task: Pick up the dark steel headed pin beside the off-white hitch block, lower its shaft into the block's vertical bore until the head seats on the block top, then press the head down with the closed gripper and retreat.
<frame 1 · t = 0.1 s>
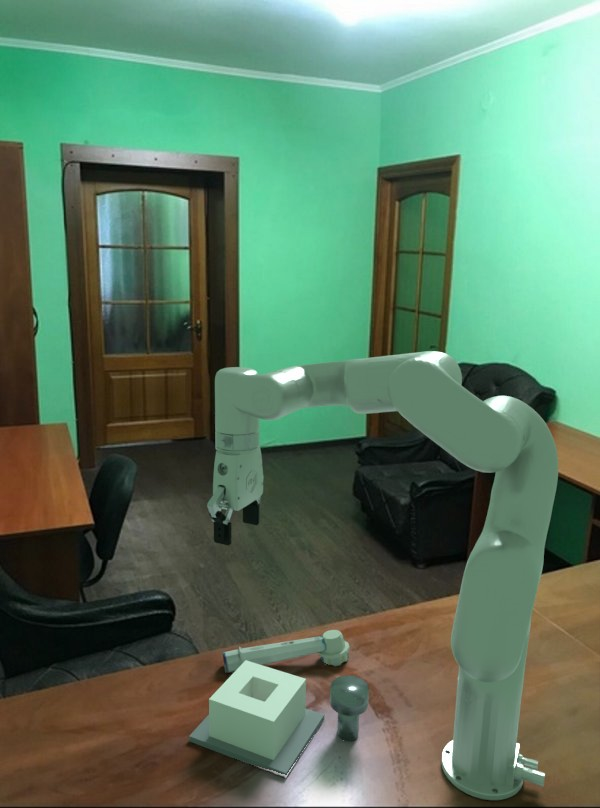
hand: (237, 533, 116), 31 cm above the table, tool pointing down, fingers open, 9 cm apart
steel pin: (347, 734, 111), on the table
hitch block: (258, 730, 112), on the table
white flashlight: (286, 666, 131), on the table
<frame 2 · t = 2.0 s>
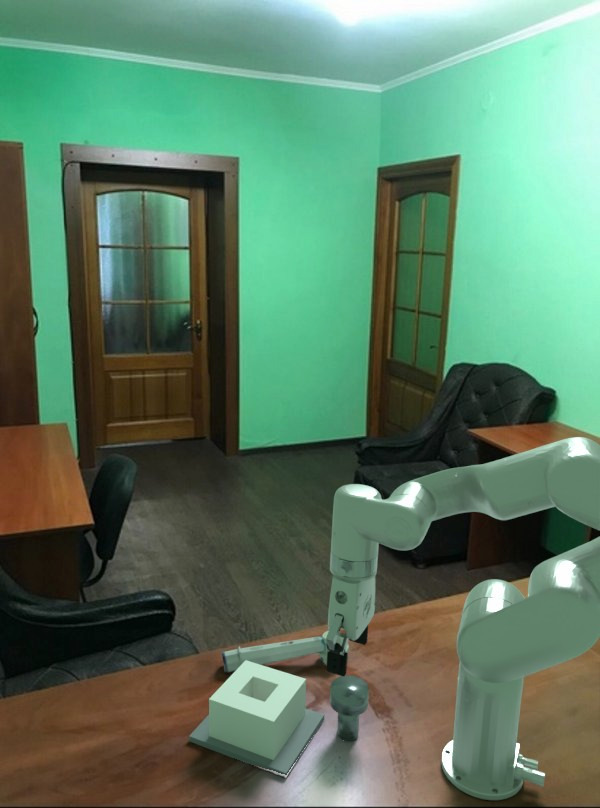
hand: (347, 656, 109), 15 cm above the table, tool pointing down, fingers open, 9 cm apart
nothing on the table moved.
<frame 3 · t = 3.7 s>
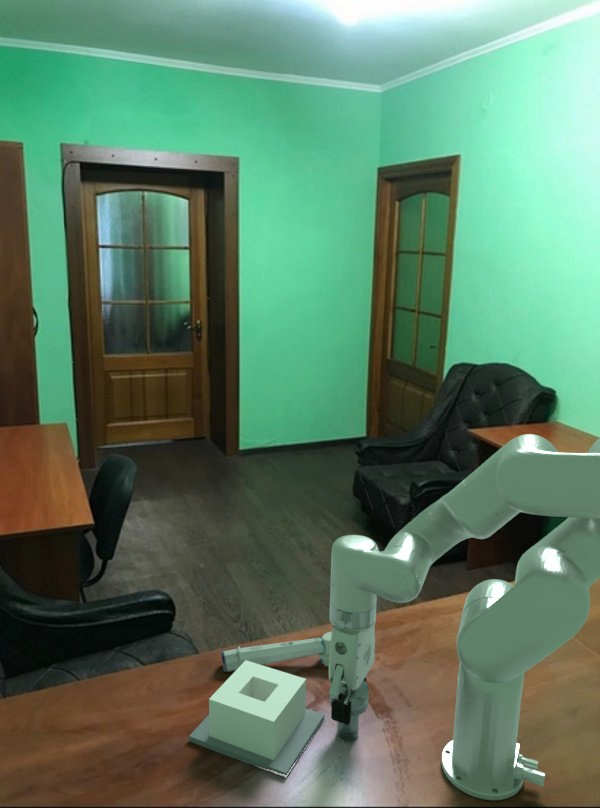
hand: (348, 707, 110), 5 cm above the table, tool pointing down, fingers closed on steel pin, 6 cm apart
steel pin: (347, 734, 111), on the table, touching gripper
everything else where it was.
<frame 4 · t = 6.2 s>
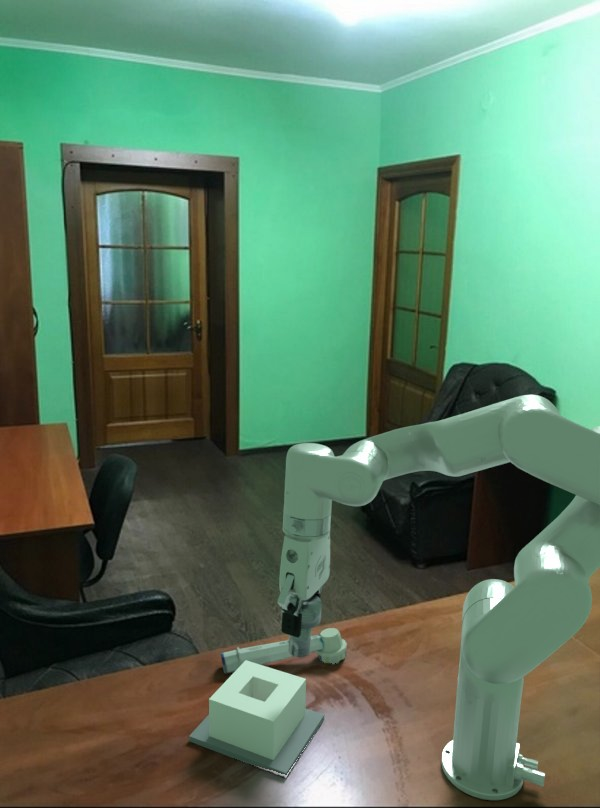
hand: (300, 622, 108), 20 cm above the table, tool pointing down, fingers closed on steel pin, 6 cm apart
steel pin: (299, 650, 109), point 15 cm above the table, touching gripper
when the fingers open (9 cm above the table, at t = 8.8 s): steel pin drops 2 cm, resting on hitch block.
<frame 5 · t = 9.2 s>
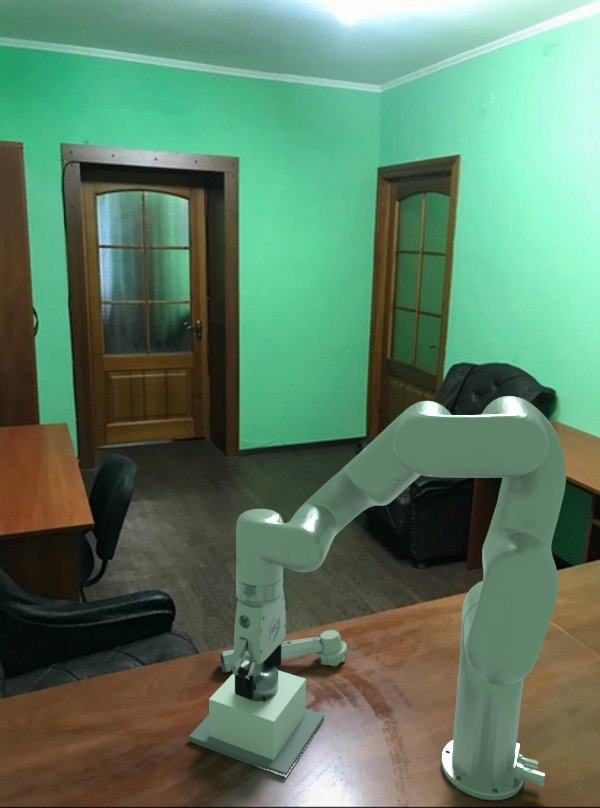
hand: (258, 679, 110), 10 cm above the table, tool pointing down, fingers open, 9 cm apart
steel pin: (258, 719, 112), point 2 cm above the table, touching hitch block
everything else where it was.
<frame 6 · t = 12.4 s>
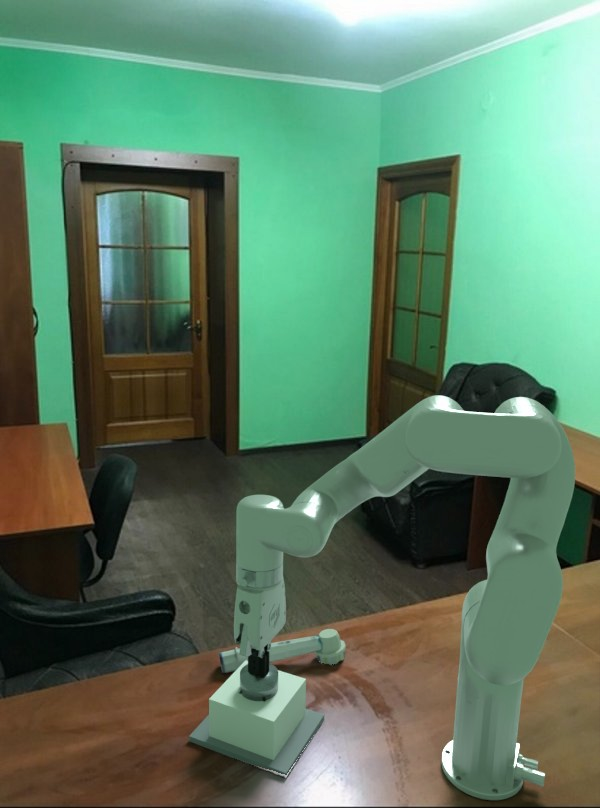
hand: (258, 672, 110), 11 cm above the table, tool pointing down, fingers closed
steel pin: (258, 719, 112), point 2 cm above the table, touching gripper, hitch block
everything else where it was.
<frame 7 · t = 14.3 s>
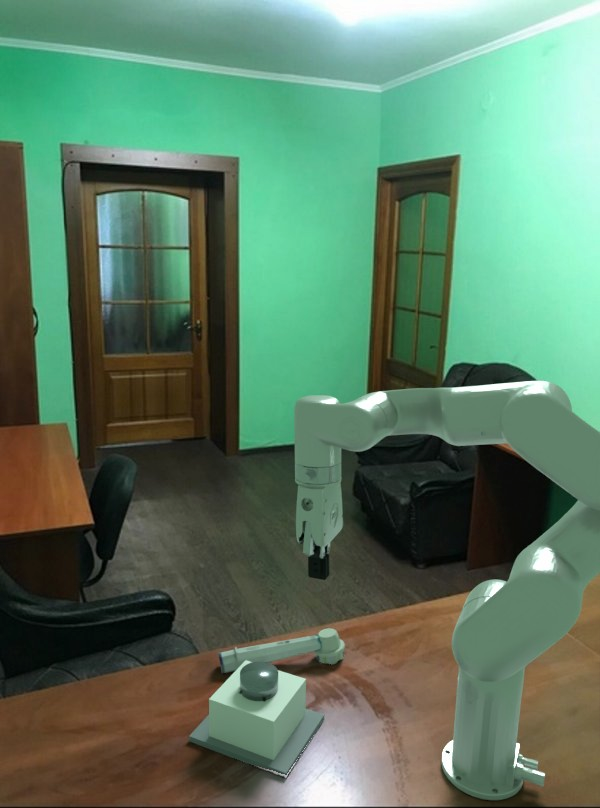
hand: (318, 576, 110), 27 cm above the table, tool pointing down, fingers closed
steel pin: (258, 719, 112), point 2 cm above the table, touching hitch block
everything else where it was.
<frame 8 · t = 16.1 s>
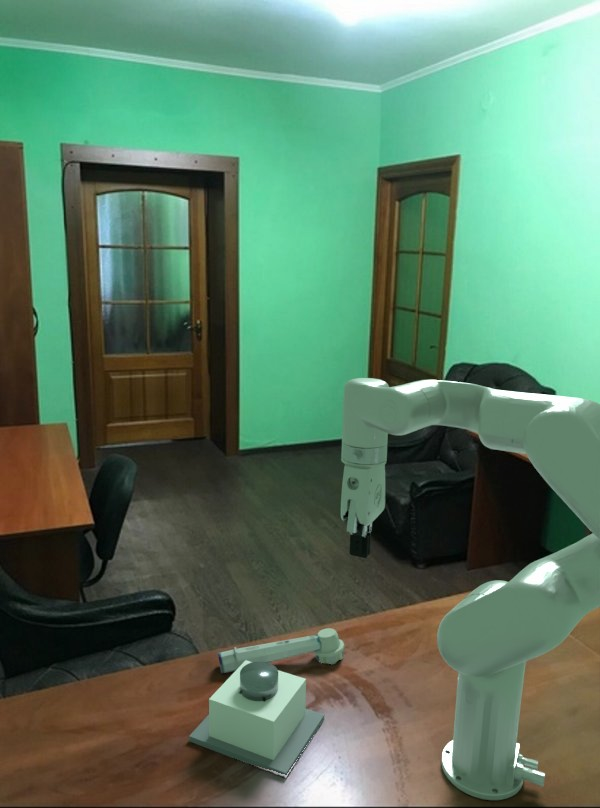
hand: (359, 554, 113), 29 cm above the table, tool pointing down, fingers closed
nothing on the table moved.
at the end: steel pin 0.0 cm off-centre on the hitch block, point 2.0 cm above the hitch block's base; steel pin tilted 0° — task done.
